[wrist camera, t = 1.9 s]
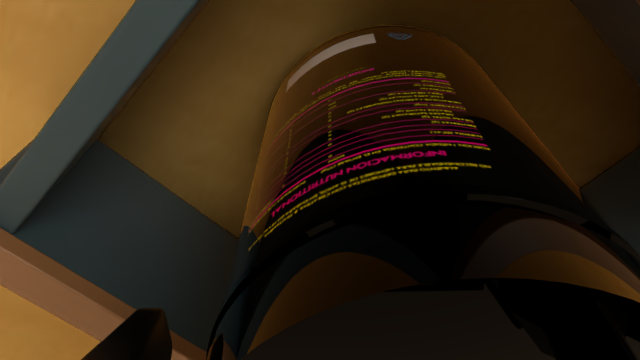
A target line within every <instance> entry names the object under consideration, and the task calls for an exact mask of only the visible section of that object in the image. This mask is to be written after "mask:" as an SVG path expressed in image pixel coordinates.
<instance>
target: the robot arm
mask: <svg viewBox="0 0 640 360" xmlns="http://www.w3.org/2000/svg"><path fill="white" fill-rule="evenodd" d="M171 357H172V339H171V335H170V331H169V327H168V323H167V319H166V315H165V312H164V310H163V309H162V308H140V309H138V310H136V311H135V312H134V313H133V314H131V315H130V316H129V317H128V318H127V319H126V320H125V321H124V322H123V323H121V324H120V325H119V326H118V327H117V328H116V329H115V330H114V331H113V332H111V333H110V334H109V335H108V336H107V337H106V338H105V339H104V340H103V341H101V342H100V343H99V344H98V345H97V346H96V347H95V348H94V349H93V350H91V351H90V352H89V353H88V354H87V355H86V356H85V357H84V358H83V359H81V360H171Z"/></svg>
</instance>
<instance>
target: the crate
mask: <svg viewBox="0 0 640 360" xmlns="http://www.w3.org/2000/svg"><path fill="white" fill-rule="evenodd" d="M208 1H209V0H136V1H135V3H134V4H133V5H132V7H131V8H130V9H129V11H128V12H127V13H126V15H125V16H124V18H123V19H122V20H121V22H120V23H119V24H118V26H117V27H116V28H115V30H114V31H113V32H112V34H111V35H110V37H109V38H108V39H107V41H106V42H105V43H104V45H103V46H102V47H101V49H100V50H99V52H98V53H97V54H96V56H95V57H94V58H93V60H92V61H91V62H90V64H89V65H88V67H87V68H86V69H85V71H84V72H83V73H82V75H81V76H80V77H79V79H78V80H77V81H76V83H75V84H74V86H73V87H72V88H71V90H70V91H69V92H68V94H67V95H66V96H65V98H64V99H63V101H62V102H61V103H60V105H59V106H58V107H57V109H56V110H55V111H54V113H53V114H52V116H51V117H50V118H49V120H48V121H47V122H46V124H45V125H44V126H43V128H42V129H41V130H40V132H39V133H38V135H37V136H36V137H35V139H34V140H32V141H31V142H30V143H29V144H28V145H27V146H26V147H25V148H23V149H22V150H21V151H20V152H19V153H18V154H17V155H16V156H14V157H13V158H12V159H11V160H10V161H9V162H8V163H7V164H6V165H4V166H3V167H2V168H1V169H0V285H2V286H4V287H5V288H7V289H9V290H11V291H12V292H14V293H16V294H18V295H19V296H21V297H23V298H25V299H27V300H28V301H30V302H32V303H34V304H35V305H37V306H39V307H41V308H43V309H44V310H46V311H48V312H50V313H51V314H53V315H55V316H57V317H58V318H60V319H62V320H64V321H66V322H67V323H69V324H71V325H73V326H74V327H76V328H78V329H80V330H82V331H83V332H85V333H87V334H89V335H90V336H92V337H94V338H96V339H97V340H99V341H103V340H104V339H105V338H106V337H107V336H108V335H109V334H110V333H111V332H113V331H114V330H115V329H116V328H117V327H118V326H119V325H120V324H121V323H123V322H124V321H125V320H126V319H127V318H128V317H129V316H130V315H131V314H133V313H134V312H135V311H136V310H138V309H140V308H162V309H163V310H164V312H165V315H166V319H167V323H168V327H169V331H170V335H171V339H172V357H171V360H206V354H207V348H208V344H209V339H210V335H211V331H212V327H213V324H214V321H215V319H216V316H217V314H218V311H219V309H220V307H221V305H222V303H223V301H224V297H225V293H226V289H227V285H228V281H229V276H230V272H231V268H232V264H233V260H234V256H235V252H236V248H237V244H238V239H237V238H236V237H234V236H233V235H231V234H230V233H229V232H227V231H226V230H224V229H223V228H222V227H220V226H219V225H217V224H216V223H215V222H213V221H212V220H210V219H209V218H208V217H206V216H205V215H203V214H202V213H201V212H199V211H198V210H196V209H195V208H194V207H192V206H191V205H189V204H188V203H187V202H185V201H184V200H182V199H181V198H180V197H178V196H177V195H175V194H174V193H173V192H171V191H170V190H168V189H167V188H166V187H164V186H163V185H161V184H160V183H159V182H157V181H156V180H154V179H153V178H152V177H150V176H149V175H147V174H146V173H145V172H143V171H142V170H140V169H139V168H138V167H136V166H135V165H133V164H132V163H131V162H129V161H128V160H126V159H125V158H124V157H122V156H121V155H119V154H118V153H117V152H115V151H114V150H112V149H111V148H110V147H108V146H107V145H105V144H104V143H103V142H101V141H100V140H98V138H99V137H100V135H101V134H102V133H103V132H104V130H105V129H106V128H107V127H108V125H109V124H110V123H111V122H112V120H113V119H114V118H115V117H116V115H117V114H118V113H119V112H120V110H121V109H122V108H123V107H124V106H125V104H126V103H127V102H128V101H129V99H130V98H131V97H132V96H133V94H134V93H135V92H136V91H137V89H138V88H139V87H140V86H141V84H142V83H143V82H144V81H145V79H146V78H147V77H148V76H149V74H150V73H151V72H152V71H153V69H154V68H155V67H156V66H157V64H158V63H159V62H160V61H161V60H162V58H163V57H164V56H165V55H166V53H167V52H168V51H169V50H170V48H171V47H172V46H173V45H174V43H175V42H176V41H177V40H178V38H179V37H180V36H181V35H182V33H183V32H184V31H185V30H186V28H187V27H188V26H189V25H190V23H191V22H192V21H193V20H194V18H195V17H196V16H197V15H198V13H199V12H200V11H201V10H202V9H203V7H204V6H205V5H206V4H207V2H208ZM571 1H572V2H573V3H574V5H575V6H576V7H577V8H578V10H579V11H580V12H581V13H582V15H583V16H584V17H585V19H586V20H587V21H588V22H589V24H590V25H591V26H592V27H593V29H594V30H595V31H596V32H597V34H598V35H599V36H600V38H601V39H602V40H603V41H604V43H605V44H606V45H607V46H608V48H609V49H610V50H611V51H612V53H613V54H614V55H615V57H616V58H617V59H618V60H619V62H620V63H621V64H622V65H623V67H624V68H625V69H626V70H627V72H628V73H629V74H630V76H631V77H632V78H633V79H634V81H635V82H636V83H637V84H638V86H639V87H640V0H571ZM580 190H581V191H582V192H583V194H584V195H585V196H586V197H587V199H588V200H589V201H590V202H591V203H592V205H593V206H594V207H595V208H596V210H597V211H598V212H599V213H600V214H601V216H602V217H603V218H604V219H605V221H606V222H607V223H608V224H609V226H610V227H611V228H612V229H613V230H614V231H615V232H616V233H617V234H619V235H620V236H621V237H622V238H624V239H625V240H626V241H627V242H628V243H629V244H630V245H631V246H632V247H633V248H634V249H635V250H636V251H637V252H638V253H639V254H640V148H638V149H637V150H635V151H634V152H633V153H631V154H630V155H628V156H627V157H626V158H624V159H623V160H621V161H620V162H618V163H617V164H616V165H614V166H613V167H611V168H610V169H609V170H607V171H606V172H604V173H603V174H602V175H600V176H599V177H597V178H596V179H594V180H593V181H592V182H590V183H589V184H587V185H586V186H585V187H583V188H582V189H580Z"/></svg>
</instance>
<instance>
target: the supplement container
mask: <svg viewBox="0 0 640 360" xmlns="http://www.w3.org/2000/svg"><path fill="white" fill-rule="evenodd" d="M206 360H640V254H639V253H638V252H637V251H636V250H635V249H634V248H633V247H632V246H631V245H630V244H629V243H628V242H627V241H626V240H625V239H624V238H622V237H621V236H620V235H619V234H617V233H616V232H615V231H614V230H613V229H612V228H611V227H610V226H609V224H608V223H607V222H606V221H605V219H604V218H603V217H602V216H601V214H600V213H599V212H598V211H597V210H596V208H595V207H594V206H593V205H592V203H591V202H590V201H589V200H588V199H587V197H586V196H585V195H584V194H583V192H582V191H581V190H580V189H579V187H578V186H577V185H576V184H575V183H574V181H573V180H572V179H571V178H570V176H569V175H568V174H567V173H566V171H565V170H564V169H563V168H562V167H561V165H560V164H559V163H558V162H557V160H556V159H555V158H554V157H553V156H552V154H551V153H550V152H549V151H548V149H547V148H546V147H545V146H544V144H543V143H542V142H541V141H540V140H539V138H538V137H537V136H536V135H535V133H534V132H533V131H532V130H531V128H530V127H529V126H528V125H527V124H526V122H525V121H524V120H523V119H522V117H521V116H520V115H519V114H518V113H517V111H516V110H515V109H514V108H513V106H512V105H511V104H510V103H509V101H508V100H507V99H506V98H505V97H504V95H503V94H502V93H501V92H500V90H499V89H498V88H497V87H496V86H495V84H494V83H493V82H492V81H491V79H490V78H489V77H488V76H487V74H486V73H485V72H484V71H483V70H482V68H481V67H480V66H479V65H478V63H477V62H476V61H475V60H474V59H473V58H472V57H471V56H470V55H469V54H468V53H467V52H465V51H464V50H463V49H462V48H461V47H459V46H458V45H456V44H455V43H453V42H452V41H450V40H448V39H446V38H444V37H442V36H440V35H438V34H435V33H433V32H430V31H427V30H424V29H420V28H416V27H410V26H403V25H376V26H369V27H363V28H359V29H355V30H352V31H348V32H345V33H343V34H340V35H338V36H335V37H333V38H331V39H330V40H328V41H326V42H324V43H322V44H321V45H319V46H318V47H316V48H315V49H313V50H312V51H311V52H309V53H308V54H307V55H306V56H304V57H303V58H302V59H301V60H300V61H299V62H298V63H297V64H296V65H295V66H294V67H293V69H292V70H291V71H290V72H289V74H288V75H287V76H286V78H285V79H284V81H283V82H282V84H281V85H280V87H279V89H278V91H277V93H276V95H275V97H274V100H273V103H272V106H271V109H270V113H269V117H268V121H267V125H266V129H265V133H264V137H263V141H262V145H261V150H260V154H259V158H258V162H257V166H256V170H255V174H254V178H253V182H252V186H251V190H250V195H249V199H248V203H247V207H246V211H245V215H244V219H243V223H242V227H241V231H240V235H239V240H238V244H237V248H236V252H235V256H234V260H233V264H232V268H231V272H230V276H229V281H228V285H227V289H226V293H225V297H224V301H223V303H222V305H221V307H220V309H219V311H218V314H217V316H216V319H215V321H214V324H213V327H212V331H211V335H210V339H209V344H208V348H207V354H206Z"/></svg>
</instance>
